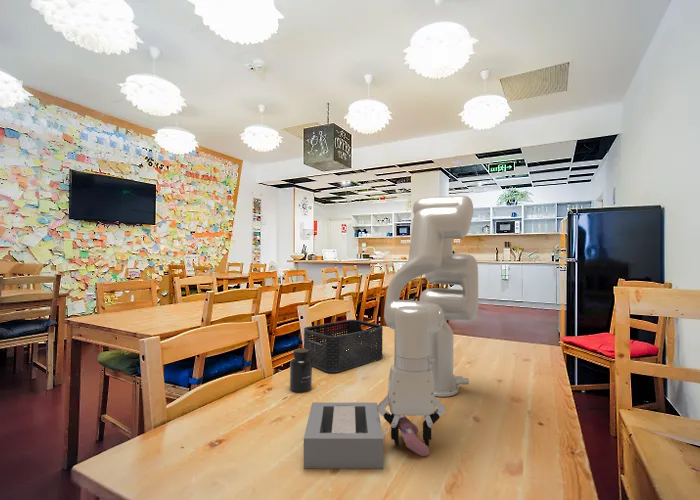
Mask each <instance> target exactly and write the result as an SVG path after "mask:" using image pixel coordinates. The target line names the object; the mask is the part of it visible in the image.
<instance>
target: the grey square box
mask: <svg viewBox="0 0 700 500" xmlns="http://www.w3.org/2000/svg"><path fill="white" fill-rule="evenodd" d="M334 406H355V425H356V433H354V434H345V433H342V434H340V433H339V434H334V433H332V424H333V413H334ZM377 406H378V402H317V401H316V402H311V406H310V411H309V414H308V418H307V419H308V420H307V423H306V427H305V432H304V436H303V469H384V435H383V430H382V422H381V419H380V413H379V412H378V411H377ZM361 432H363V433H361ZM364 432H365V433H364Z"/></svg>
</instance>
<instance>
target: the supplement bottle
mask: <svg viewBox="0 0 700 500" xmlns="http://www.w3.org/2000/svg"><path fill="white" fill-rule="evenodd" d="M308 357H309V350H308V349H304V348H297V349H296V348H295V349H294V350H293V358H291V360H290V363H289V389H290V390H291V391H292V392H295V393H306V392H309V391H310V390H311V389H312V383H313V382H312V381H313V366H312V361H311V359H310V358H308Z"/></svg>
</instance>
